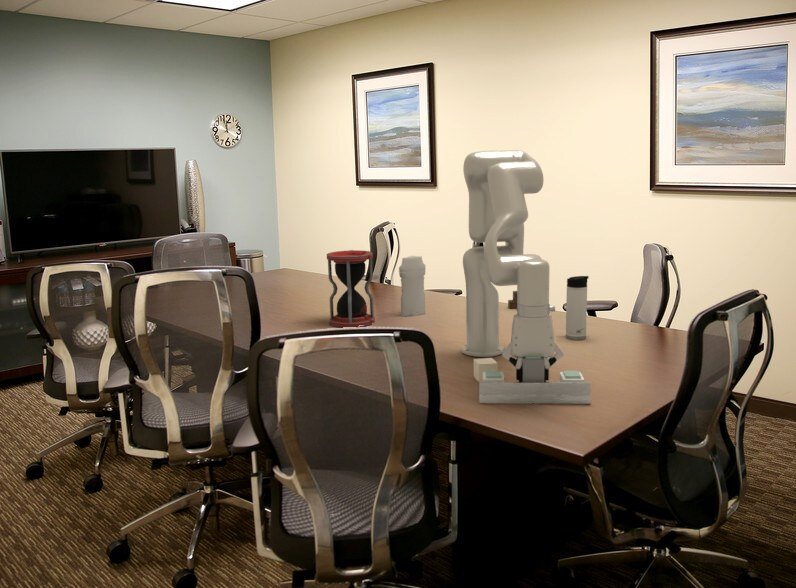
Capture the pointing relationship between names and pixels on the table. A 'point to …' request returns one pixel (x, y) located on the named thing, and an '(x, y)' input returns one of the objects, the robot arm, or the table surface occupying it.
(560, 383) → the rail
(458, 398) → the table surface
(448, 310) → the table surface
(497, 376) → the mounted modules
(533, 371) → the block
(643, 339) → the table surface
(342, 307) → the hourglass
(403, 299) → the tall pale column
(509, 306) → the dark brown stepped block
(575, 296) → the travel mug
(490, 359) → the cream cube
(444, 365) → the table surface
